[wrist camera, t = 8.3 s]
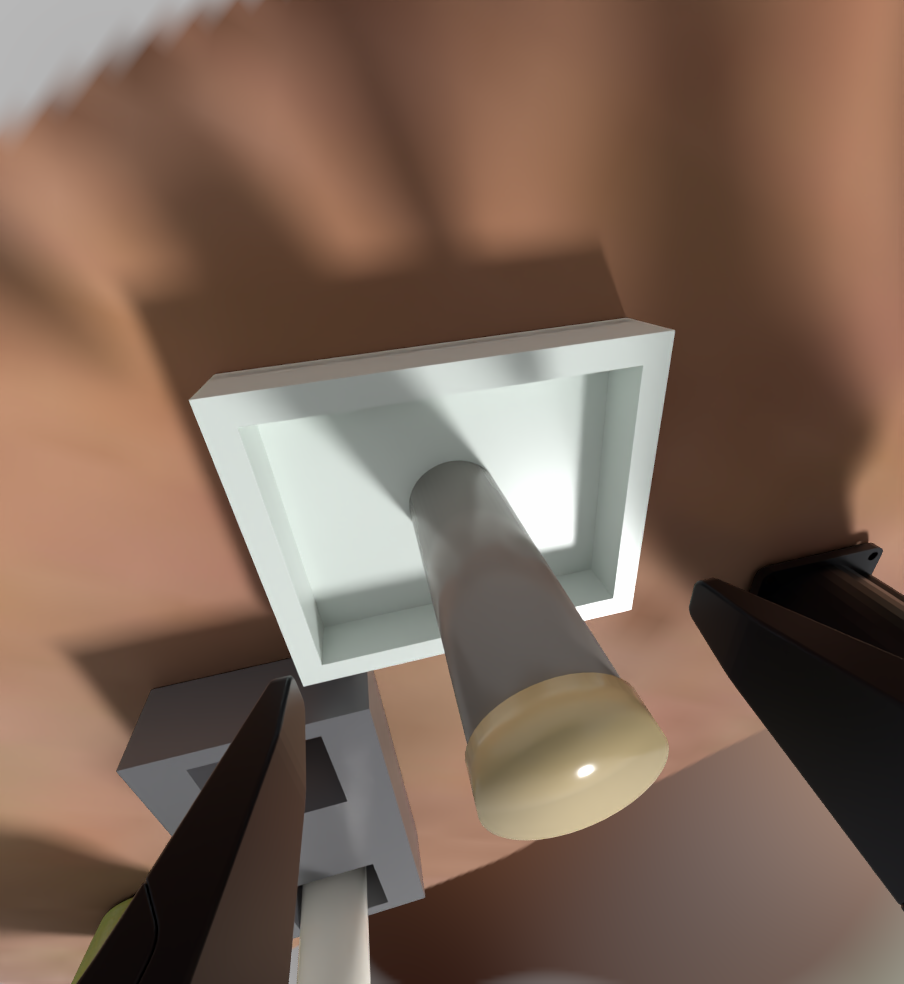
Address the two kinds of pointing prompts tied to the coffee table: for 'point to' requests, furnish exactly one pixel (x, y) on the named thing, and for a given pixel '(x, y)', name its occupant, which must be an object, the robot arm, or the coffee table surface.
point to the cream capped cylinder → (526, 669)
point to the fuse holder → (329, 772)
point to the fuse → (335, 930)
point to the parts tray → (421, 446)
